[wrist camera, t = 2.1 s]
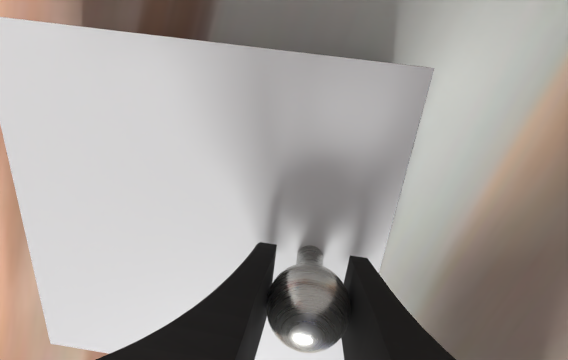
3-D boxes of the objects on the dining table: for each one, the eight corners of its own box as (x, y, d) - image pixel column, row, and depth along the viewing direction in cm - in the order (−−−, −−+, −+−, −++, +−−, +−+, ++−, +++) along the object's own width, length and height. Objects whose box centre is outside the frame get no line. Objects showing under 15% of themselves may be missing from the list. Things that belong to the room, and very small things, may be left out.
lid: (428, 67, 10) (503, 80, 6) (345, 383, 16) (355, 501, 12) (-10, 15, 11) (-208, -4, 7) (58, 335, 16) (-29, 430, 12)
